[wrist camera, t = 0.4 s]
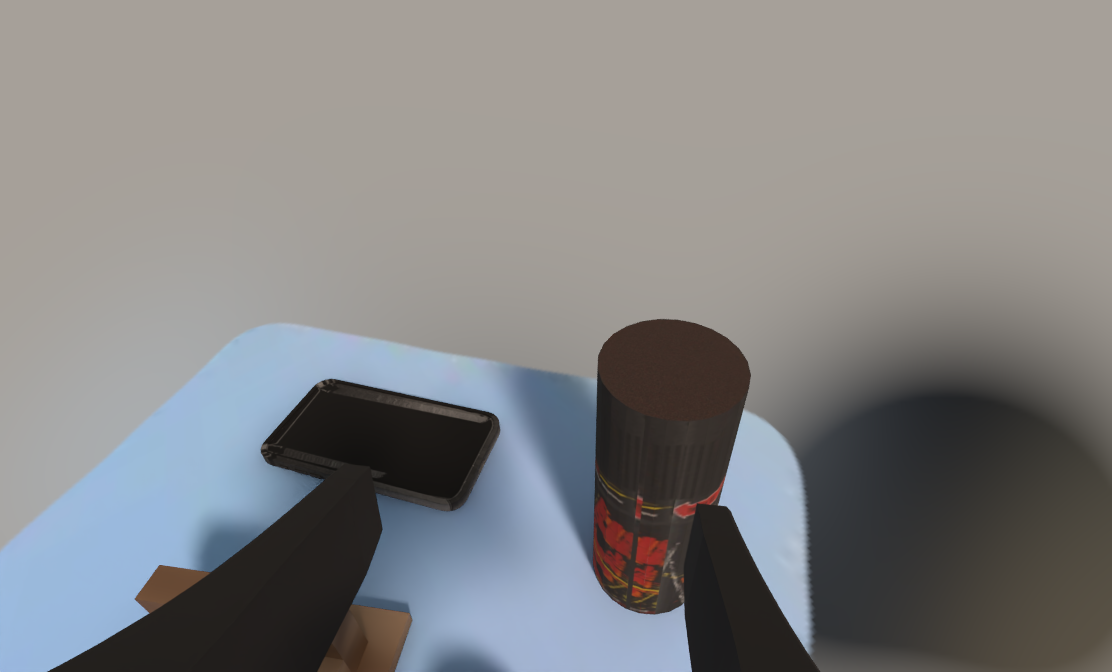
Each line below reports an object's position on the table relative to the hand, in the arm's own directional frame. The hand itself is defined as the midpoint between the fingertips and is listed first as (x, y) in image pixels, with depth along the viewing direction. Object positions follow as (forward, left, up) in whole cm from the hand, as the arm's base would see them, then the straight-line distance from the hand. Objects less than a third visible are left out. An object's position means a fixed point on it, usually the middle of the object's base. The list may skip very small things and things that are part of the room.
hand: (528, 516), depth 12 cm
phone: (+16, +15, -20) cm, 30 cm away
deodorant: (+10, -4, -19) cm, 22 cm away
